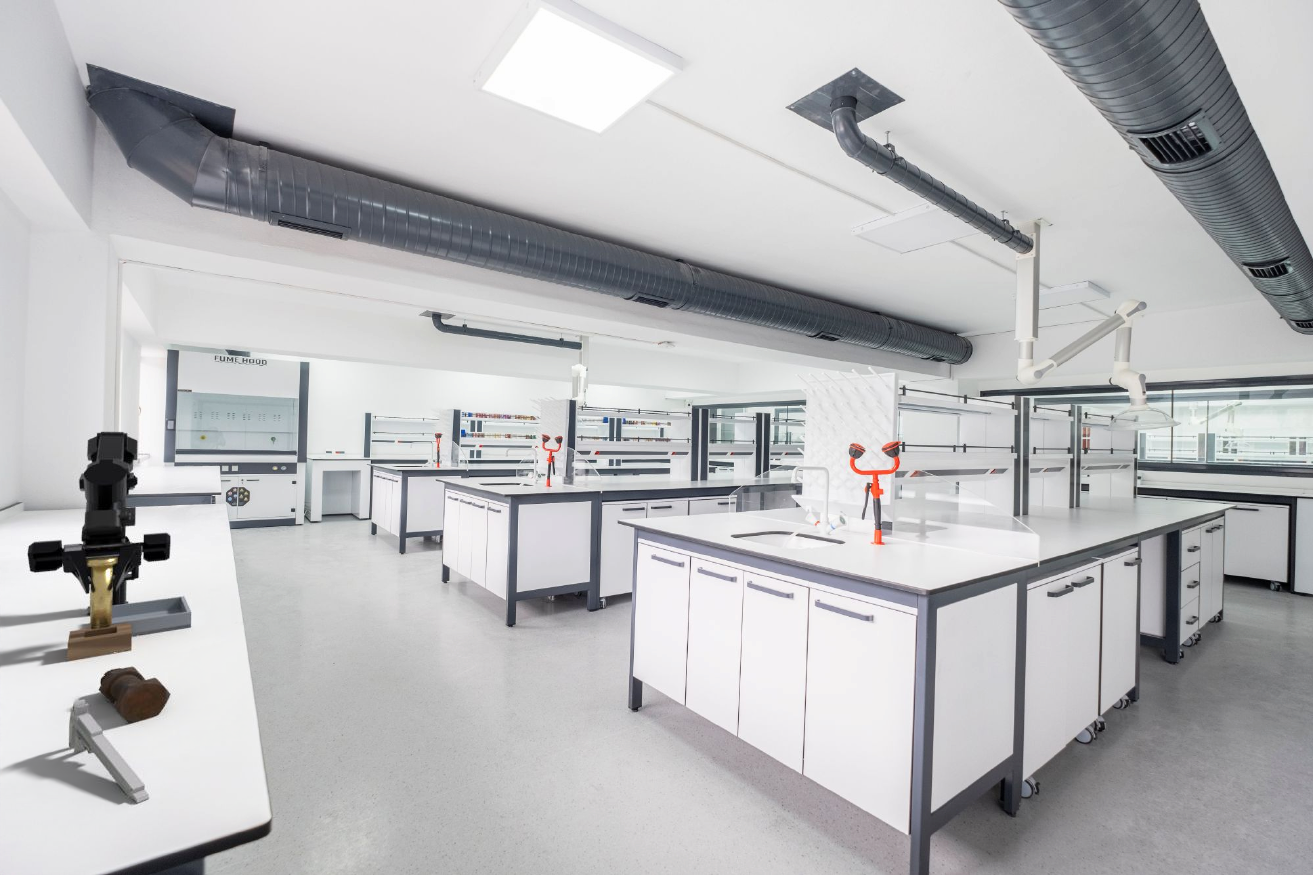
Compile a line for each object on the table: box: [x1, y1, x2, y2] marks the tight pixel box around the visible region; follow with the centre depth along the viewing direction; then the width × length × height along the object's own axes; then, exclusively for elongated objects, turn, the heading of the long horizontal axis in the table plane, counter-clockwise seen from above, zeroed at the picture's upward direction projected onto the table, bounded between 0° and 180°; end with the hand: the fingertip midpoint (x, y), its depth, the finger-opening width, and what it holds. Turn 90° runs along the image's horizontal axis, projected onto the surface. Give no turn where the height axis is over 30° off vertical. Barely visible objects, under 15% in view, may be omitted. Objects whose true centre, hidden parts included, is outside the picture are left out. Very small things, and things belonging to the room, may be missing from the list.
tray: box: [112, 595, 192, 637], centre depth 118 cm, size 15×13×3 cm
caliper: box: [68, 698, 150, 804], centre depth 67 cm, size 20×1×6 cm, turn 60°
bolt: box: [98, 666, 171, 725], centre depth 84 cm, size 6×5×15 cm
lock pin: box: [87, 556, 118, 629], centre depth 104 cm, size 4×4×12 cm
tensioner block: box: [66, 622, 133, 662], centre depth 104 cm, size 8×8×3 cm
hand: (101, 590), depth 103 cm, fingers closed on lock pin, 3 cm apart
